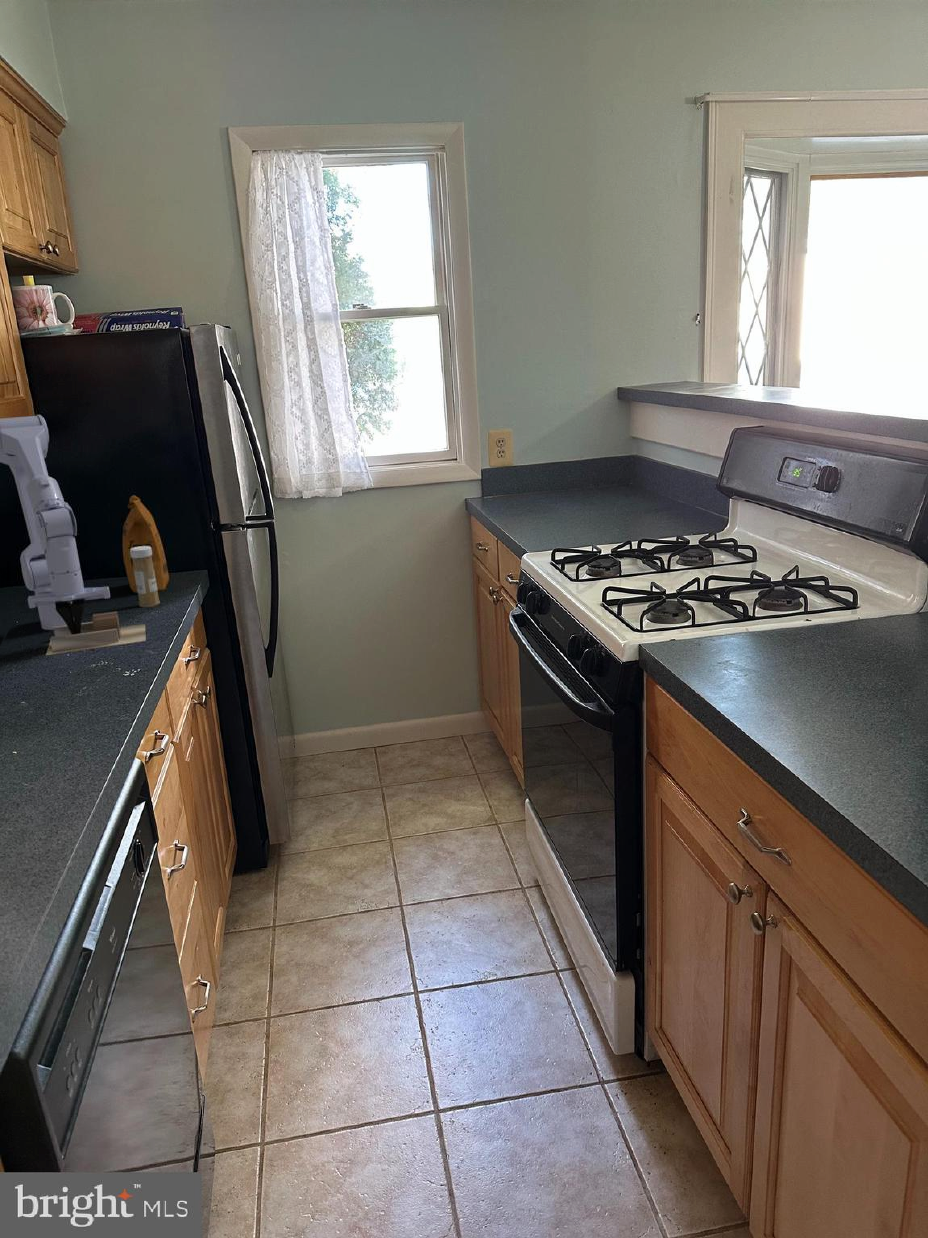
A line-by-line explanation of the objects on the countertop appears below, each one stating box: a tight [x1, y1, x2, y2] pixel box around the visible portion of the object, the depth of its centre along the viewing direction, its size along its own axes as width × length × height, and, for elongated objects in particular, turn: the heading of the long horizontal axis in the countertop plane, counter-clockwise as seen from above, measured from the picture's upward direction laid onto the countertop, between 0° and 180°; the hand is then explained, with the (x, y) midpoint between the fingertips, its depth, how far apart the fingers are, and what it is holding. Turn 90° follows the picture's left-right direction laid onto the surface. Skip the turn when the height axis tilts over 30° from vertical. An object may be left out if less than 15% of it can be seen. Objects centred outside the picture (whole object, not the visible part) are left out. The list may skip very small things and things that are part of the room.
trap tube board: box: [45, 621, 147, 656], centre depth 176 cm, size 12×18×4 cm, turn 110°
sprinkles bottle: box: [130, 546, 161, 608], centre depth 200 cm, size 5×5×14 cm
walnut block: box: [91, 611, 121, 639], centre depth 176 cm, size 4×4×4 cm
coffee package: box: [122, 495, 170, 594], centre depth 215 cm, size 10×12×22 cm
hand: (77, 637), depth 175 cm, fingers closed
